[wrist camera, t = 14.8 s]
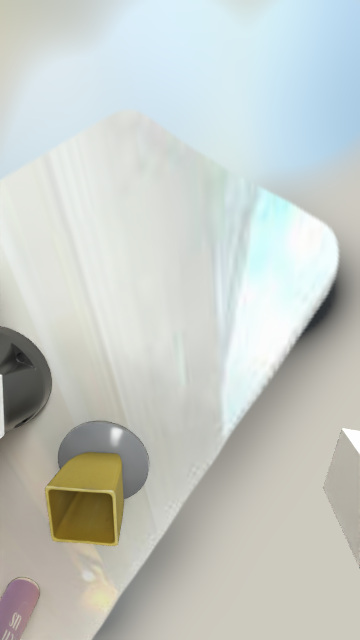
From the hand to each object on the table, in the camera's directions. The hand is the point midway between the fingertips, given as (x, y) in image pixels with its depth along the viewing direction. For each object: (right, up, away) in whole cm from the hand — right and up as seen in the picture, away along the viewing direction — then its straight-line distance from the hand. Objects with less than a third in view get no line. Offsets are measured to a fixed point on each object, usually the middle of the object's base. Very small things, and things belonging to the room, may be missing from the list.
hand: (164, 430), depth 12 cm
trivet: (-11, -17, +36) cm, 41 cm away
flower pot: (-11, -18, +35) cm, 41 cm away
